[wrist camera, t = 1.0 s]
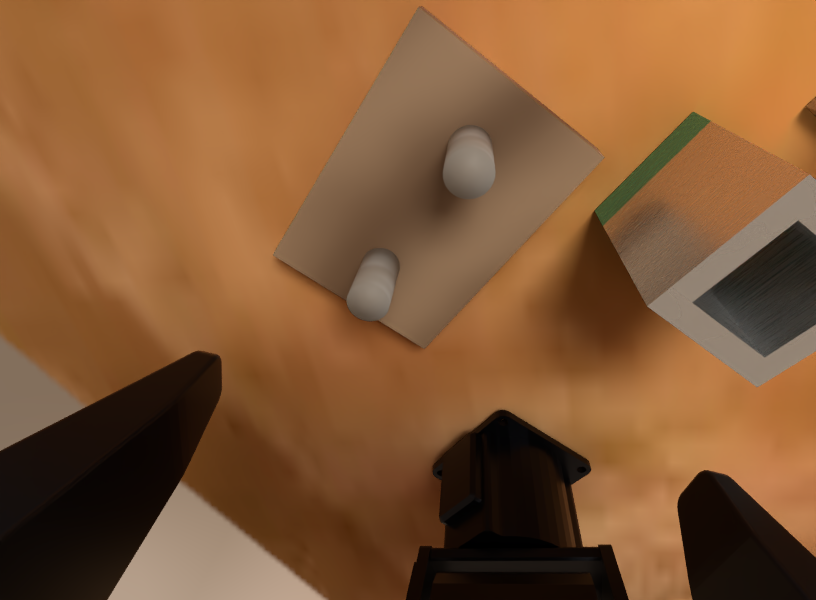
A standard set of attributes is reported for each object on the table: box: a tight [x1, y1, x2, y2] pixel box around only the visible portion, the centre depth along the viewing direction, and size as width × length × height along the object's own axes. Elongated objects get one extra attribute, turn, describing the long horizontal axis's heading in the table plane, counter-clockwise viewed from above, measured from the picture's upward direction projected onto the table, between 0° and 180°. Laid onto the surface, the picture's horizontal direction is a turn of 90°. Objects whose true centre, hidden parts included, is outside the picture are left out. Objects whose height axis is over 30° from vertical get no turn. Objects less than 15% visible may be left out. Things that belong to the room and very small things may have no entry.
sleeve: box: [595, 112, 816, 387], centre depth 16 cm, size 5×5×7 cm
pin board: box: [273, 6, 605, 349], centre depth 18 cm, size 8×11×4 cm
